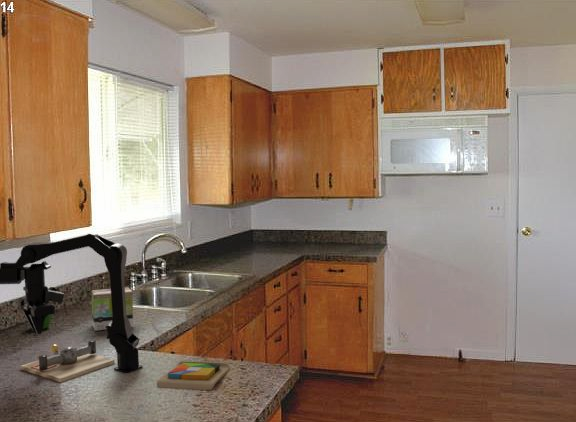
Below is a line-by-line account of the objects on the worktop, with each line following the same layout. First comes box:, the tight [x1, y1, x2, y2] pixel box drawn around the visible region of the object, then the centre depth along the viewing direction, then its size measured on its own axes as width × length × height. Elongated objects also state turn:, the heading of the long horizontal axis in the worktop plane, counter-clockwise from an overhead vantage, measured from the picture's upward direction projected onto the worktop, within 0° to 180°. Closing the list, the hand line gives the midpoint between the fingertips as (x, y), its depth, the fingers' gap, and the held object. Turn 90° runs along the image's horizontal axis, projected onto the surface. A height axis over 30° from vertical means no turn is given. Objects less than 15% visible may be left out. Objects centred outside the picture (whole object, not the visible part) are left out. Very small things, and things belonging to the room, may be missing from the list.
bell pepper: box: [42, 314, 52, 330], centre depth 234 cm, size 8×8×10 cm
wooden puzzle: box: [156, 360, 231, 391], centre depth 177 cm, size 18×19×4 cm
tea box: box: [91, 287, 134, 332], centre depth 235 cm, size 15×10×15 cm, turn 114°
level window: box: [31, 364, 57, 371], centre depth 185 cm, size 6×6×1 cm
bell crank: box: [38, 339, 97, 370], centre depth 190 cm, size 11×20×5 cm, turn 145°
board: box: [20, 353, 116, 383], centre depth 189 cm, size 21×20×1 cm
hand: (37, 332), depth 183 cm, fingers open, 4 cm apart
